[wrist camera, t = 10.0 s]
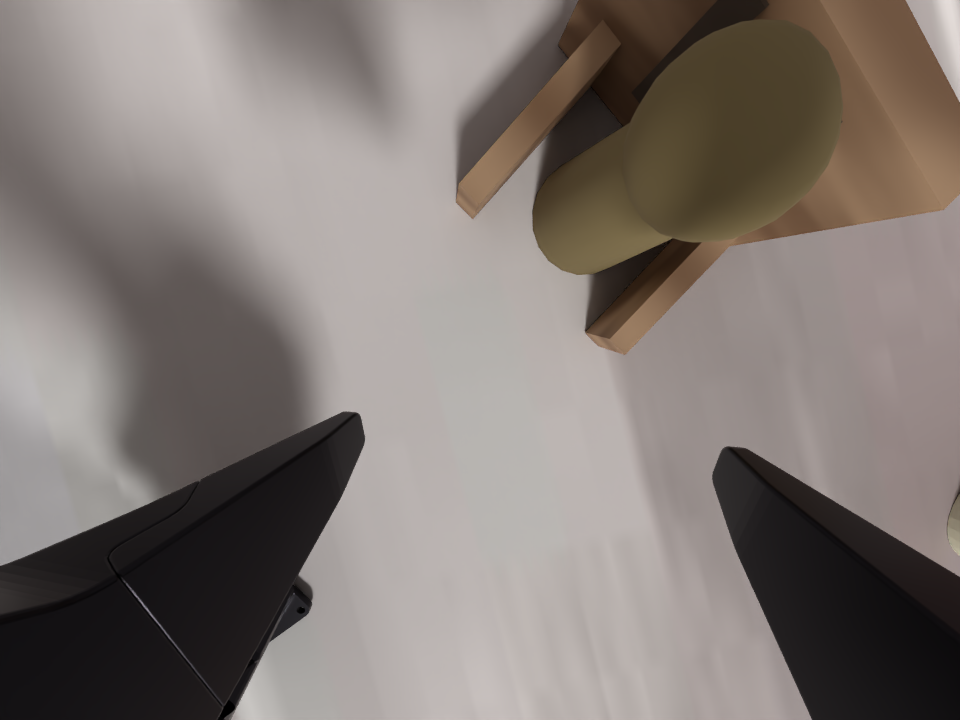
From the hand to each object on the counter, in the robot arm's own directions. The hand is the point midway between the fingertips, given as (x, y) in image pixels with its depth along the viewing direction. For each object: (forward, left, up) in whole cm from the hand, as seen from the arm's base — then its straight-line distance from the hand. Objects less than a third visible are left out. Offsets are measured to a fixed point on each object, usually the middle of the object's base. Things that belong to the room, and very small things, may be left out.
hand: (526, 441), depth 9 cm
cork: (+9, +3, -11) cm, 15 cm away
